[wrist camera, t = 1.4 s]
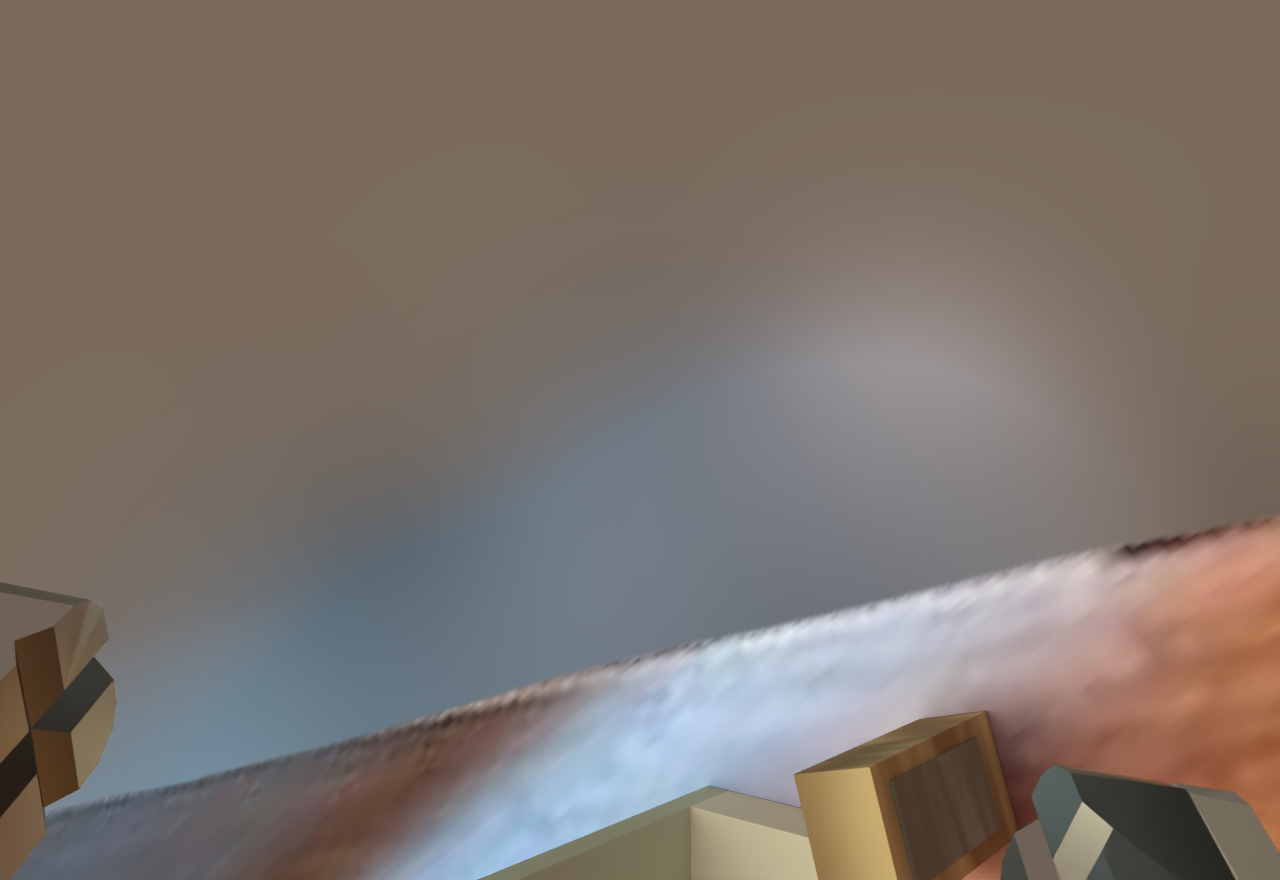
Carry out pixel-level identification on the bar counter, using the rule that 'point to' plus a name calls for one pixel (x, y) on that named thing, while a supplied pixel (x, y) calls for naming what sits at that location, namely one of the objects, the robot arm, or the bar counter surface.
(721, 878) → the cream l-shaped bookend
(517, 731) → the bar counter surface
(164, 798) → the bar counter surface
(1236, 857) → the robot arm
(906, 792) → the small box
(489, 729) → the bar counter surface
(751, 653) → the bar counter surface
